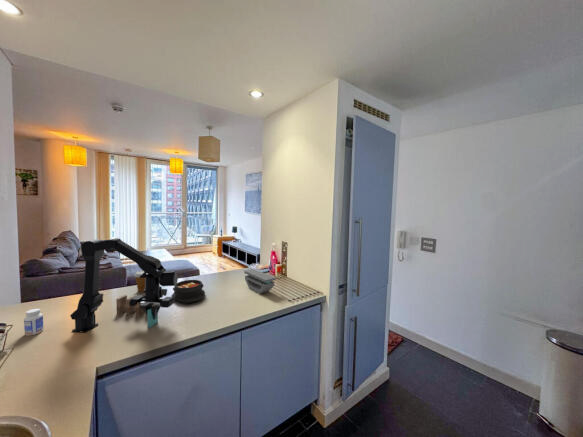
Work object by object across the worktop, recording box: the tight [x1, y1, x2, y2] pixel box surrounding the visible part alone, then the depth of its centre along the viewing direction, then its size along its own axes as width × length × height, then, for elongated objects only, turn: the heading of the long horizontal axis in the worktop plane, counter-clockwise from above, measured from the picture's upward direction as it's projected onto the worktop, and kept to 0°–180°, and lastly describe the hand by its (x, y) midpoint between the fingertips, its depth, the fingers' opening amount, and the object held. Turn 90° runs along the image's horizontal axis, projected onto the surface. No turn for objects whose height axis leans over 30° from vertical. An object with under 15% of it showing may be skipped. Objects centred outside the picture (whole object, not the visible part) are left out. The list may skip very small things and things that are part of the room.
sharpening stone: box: [243, 268, 276, 295], centre depth 153 cm, size 25×8×11 cm, turn 43°
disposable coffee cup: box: [134, 269, 145, 293], centre depth 147 cm, size 10×10×12 cm
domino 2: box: [125, 294, 137, 316], centre depth 118 cm, size 5×2×8 cm, turn 177°
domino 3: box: [135, 303, 145, 316], centre depth 118 cm, size 5×2×8 cm, turn 177°
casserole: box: [170, 279, 206, 304], centre depth 139 cm, size 25×19×8 cm
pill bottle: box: [23, 308, 44, 337], centre depth 98 cm, size 5×5×10 cm
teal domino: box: [146, 305, 159, 328], centre depth 107 cm, size 5×2×8 cm, turn 177°
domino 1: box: [115, 294, 128, 315], centre depth 118 cm, size 5×2×8 cm, turn 177°
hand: (152, 319), depth 107 cm, fingers closed on teal domino, 2 cm apart
